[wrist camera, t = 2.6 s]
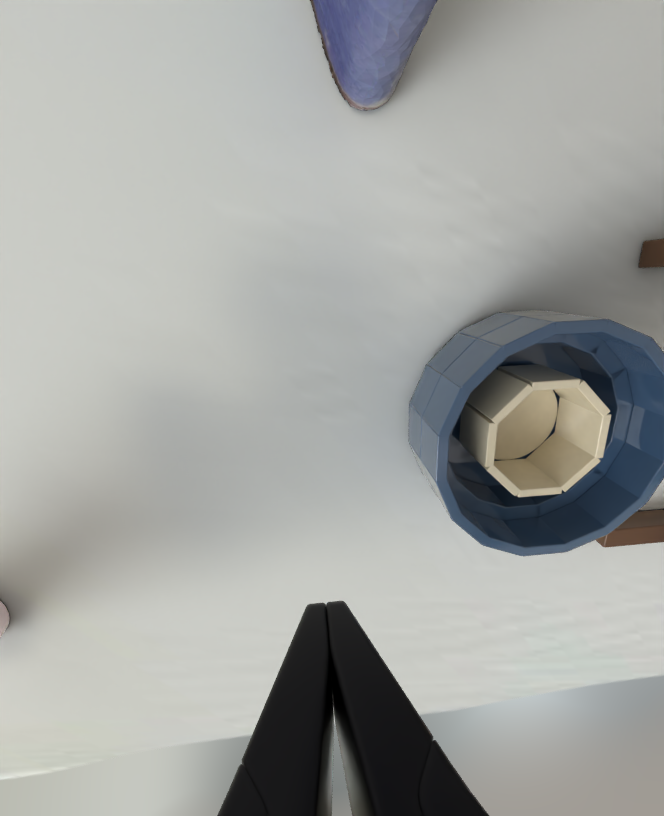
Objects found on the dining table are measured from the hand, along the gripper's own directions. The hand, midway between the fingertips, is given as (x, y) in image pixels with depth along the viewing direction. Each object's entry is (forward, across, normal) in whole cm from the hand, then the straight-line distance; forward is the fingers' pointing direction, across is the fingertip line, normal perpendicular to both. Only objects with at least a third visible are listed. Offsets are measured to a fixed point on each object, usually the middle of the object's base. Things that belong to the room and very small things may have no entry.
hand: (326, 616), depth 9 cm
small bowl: (+12, -10, 0) cm, 15 cm away
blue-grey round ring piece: (+12, -10, 0) cm, 16 cm away
